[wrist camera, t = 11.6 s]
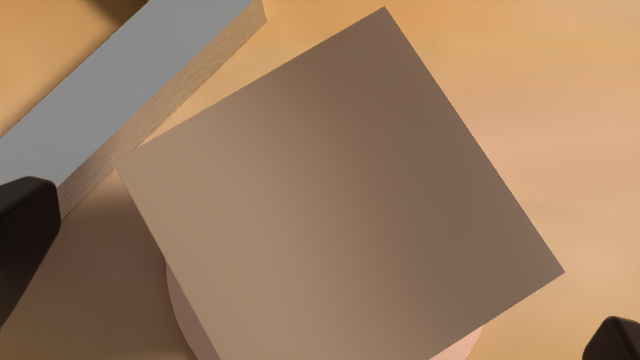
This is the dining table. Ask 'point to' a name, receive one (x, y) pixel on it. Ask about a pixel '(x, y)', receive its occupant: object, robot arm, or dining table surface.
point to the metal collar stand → (124, 92)
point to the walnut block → (337, 210)
